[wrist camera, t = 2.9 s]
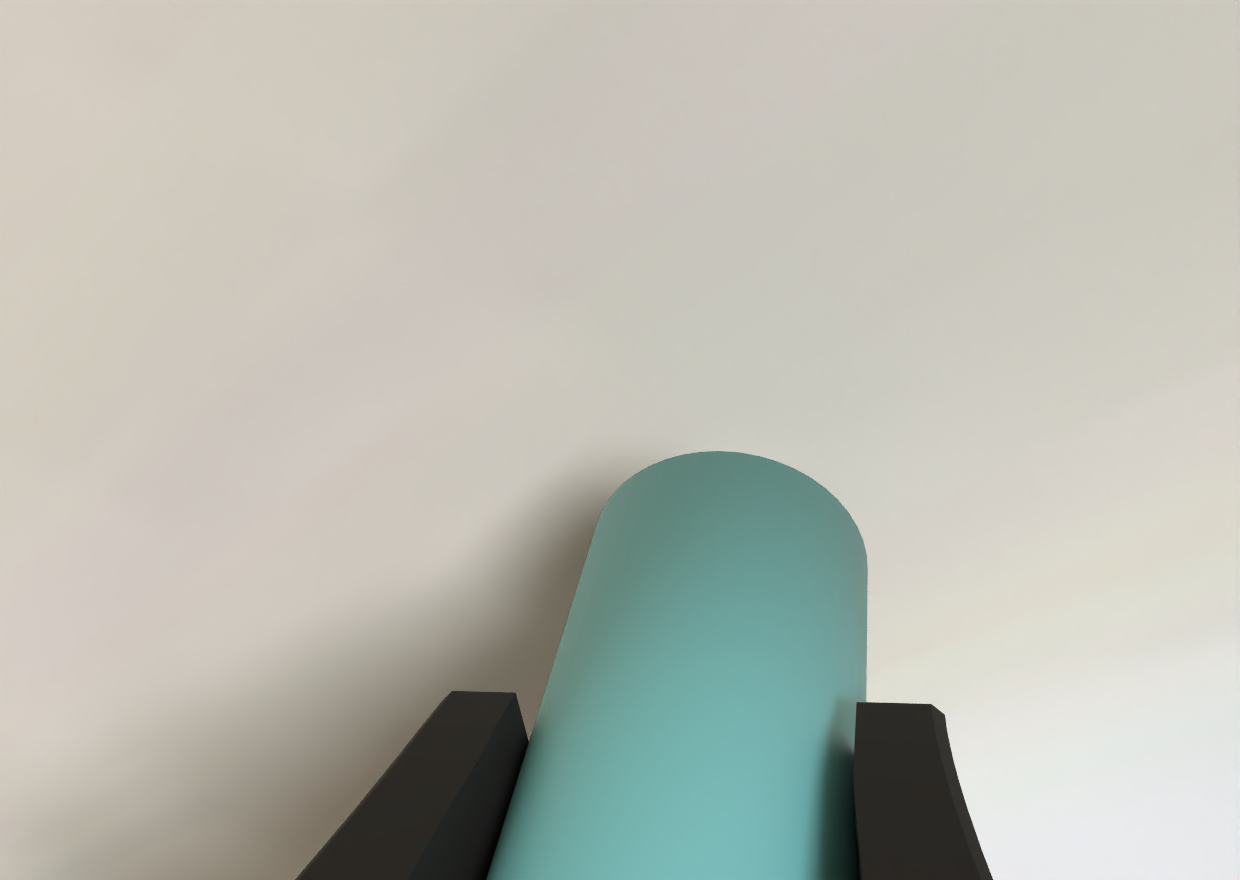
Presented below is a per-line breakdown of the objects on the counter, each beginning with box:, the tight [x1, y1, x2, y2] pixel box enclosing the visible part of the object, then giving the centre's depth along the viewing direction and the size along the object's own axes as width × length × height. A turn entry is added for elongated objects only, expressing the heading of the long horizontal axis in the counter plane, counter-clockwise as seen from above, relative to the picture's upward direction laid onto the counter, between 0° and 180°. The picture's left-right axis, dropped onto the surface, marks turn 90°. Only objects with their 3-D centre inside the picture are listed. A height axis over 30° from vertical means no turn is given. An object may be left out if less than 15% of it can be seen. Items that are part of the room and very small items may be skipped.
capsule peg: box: [486, 451, 868, 880], centre depth 10 cm, size 3×3×8 cm
